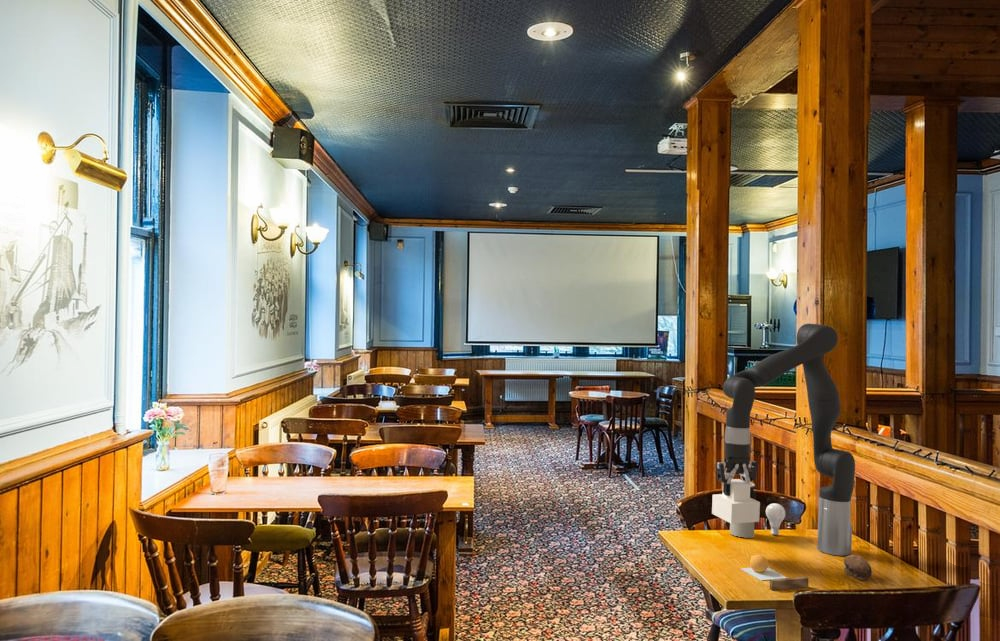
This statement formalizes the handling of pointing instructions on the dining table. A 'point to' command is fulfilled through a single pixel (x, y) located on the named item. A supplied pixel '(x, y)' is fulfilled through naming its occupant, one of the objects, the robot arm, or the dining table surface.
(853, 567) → the brown stone
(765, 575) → the beer mat mark
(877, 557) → the dining table surface
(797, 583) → the strip
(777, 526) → the lightbulb
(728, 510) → the stepped white block
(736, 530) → the travel mug
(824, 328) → the robot arm
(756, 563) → the ball
